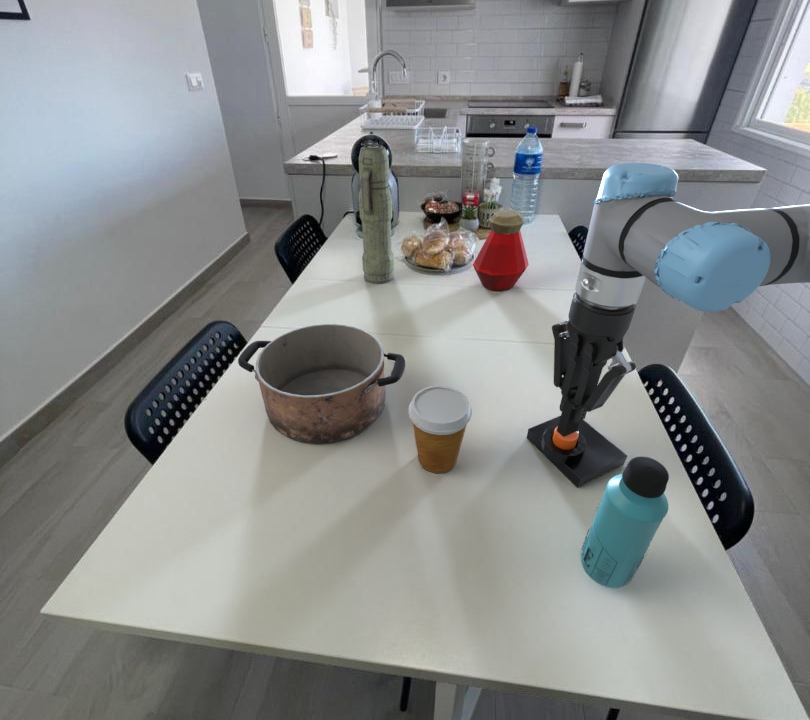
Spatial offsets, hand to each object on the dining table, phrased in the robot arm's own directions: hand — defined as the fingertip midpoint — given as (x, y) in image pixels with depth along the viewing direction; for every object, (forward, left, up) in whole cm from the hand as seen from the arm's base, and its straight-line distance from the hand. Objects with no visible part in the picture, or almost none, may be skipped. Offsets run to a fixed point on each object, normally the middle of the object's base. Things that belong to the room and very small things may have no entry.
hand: (566, 431), depth 70 cm
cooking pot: (+31, +30, -6) cm, 43 cm away
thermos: (+77, -2, -6) cm, 77 cm away
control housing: (0, -3, -6) cm, 7 cm away
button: (0, 0, -2) cm, 2 cm away
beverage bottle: (-17, +9, -6) cm, 20 cm away
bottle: (+57, -30, -6) cm, 65 cm away
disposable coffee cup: (+9, +18, -6) cm, 21 cm away
